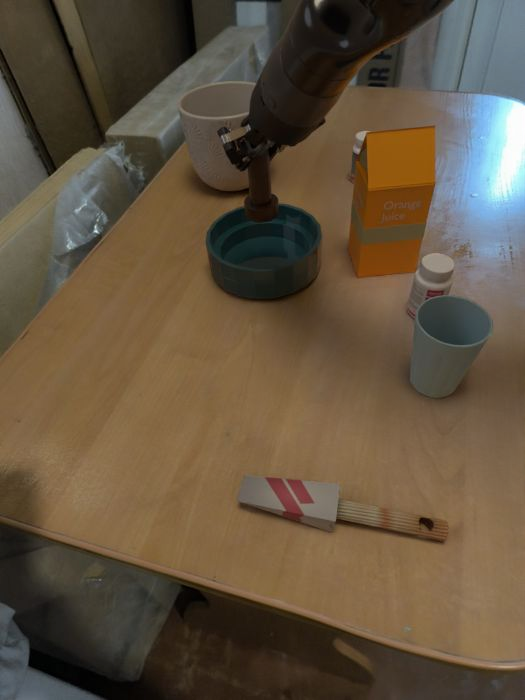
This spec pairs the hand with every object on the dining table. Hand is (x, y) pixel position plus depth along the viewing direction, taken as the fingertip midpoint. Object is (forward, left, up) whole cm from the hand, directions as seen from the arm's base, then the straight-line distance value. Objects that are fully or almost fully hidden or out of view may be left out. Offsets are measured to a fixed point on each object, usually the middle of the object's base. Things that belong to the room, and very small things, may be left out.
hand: (251, 160), depth 61 cm
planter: (+5, -26, -17) cm, 32 cm away
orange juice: (-19, +2, -17) cm, 25 cm away
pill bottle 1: (-20, -23, -17) cm, 35 cm away
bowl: (-1, +2, -16) cm, 17 cm away
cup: (-21, +26, -17) cm, 37 cm away
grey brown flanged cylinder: (-1, +2, -7) cm, 7 cm away
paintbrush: (-8, +42, -17) cm, 46 cm away
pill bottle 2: (-23, +14, -17) cm, 31 cm away
